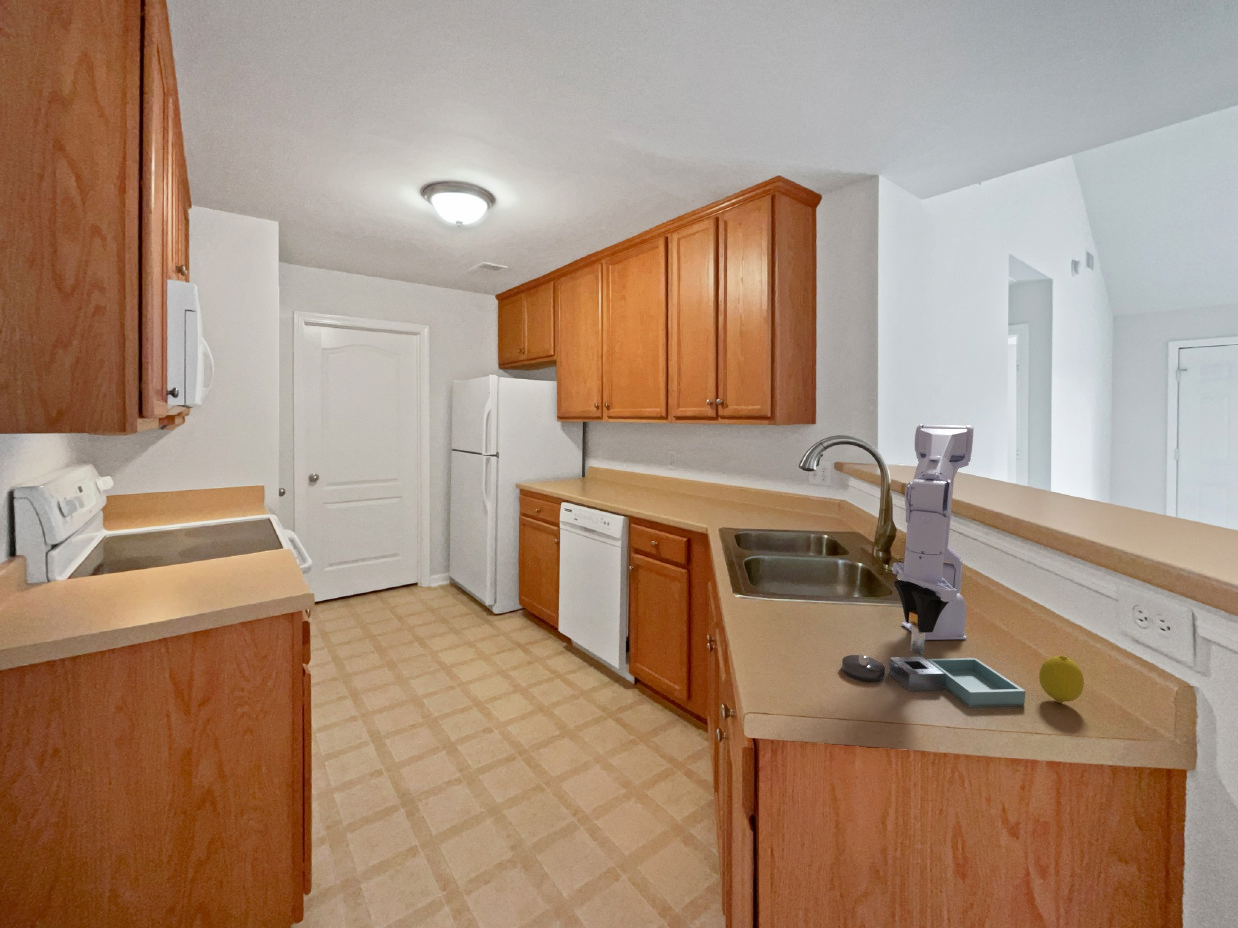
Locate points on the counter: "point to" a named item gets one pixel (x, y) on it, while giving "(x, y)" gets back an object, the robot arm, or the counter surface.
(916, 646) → the lock pin
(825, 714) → the counter surface
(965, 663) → the tray
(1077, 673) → the lemon
